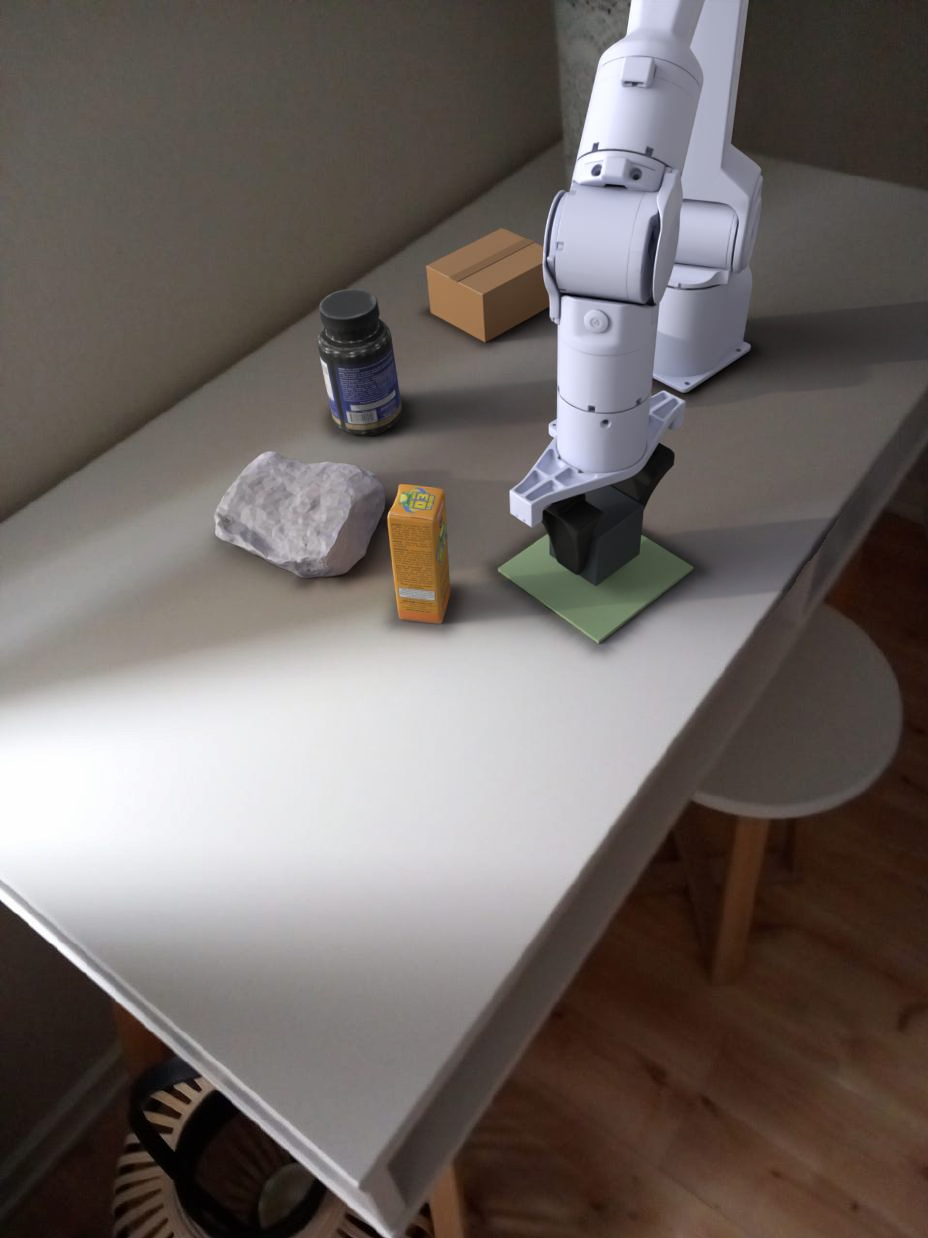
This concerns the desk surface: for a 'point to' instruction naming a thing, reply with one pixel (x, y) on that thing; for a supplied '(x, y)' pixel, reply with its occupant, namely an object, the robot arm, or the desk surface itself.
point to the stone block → (302, 513)
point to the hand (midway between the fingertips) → (595, 547)
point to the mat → (600, 604)
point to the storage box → (489, 284)
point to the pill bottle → (358, 363)
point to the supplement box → (420, 553)
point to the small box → (611, 534)
